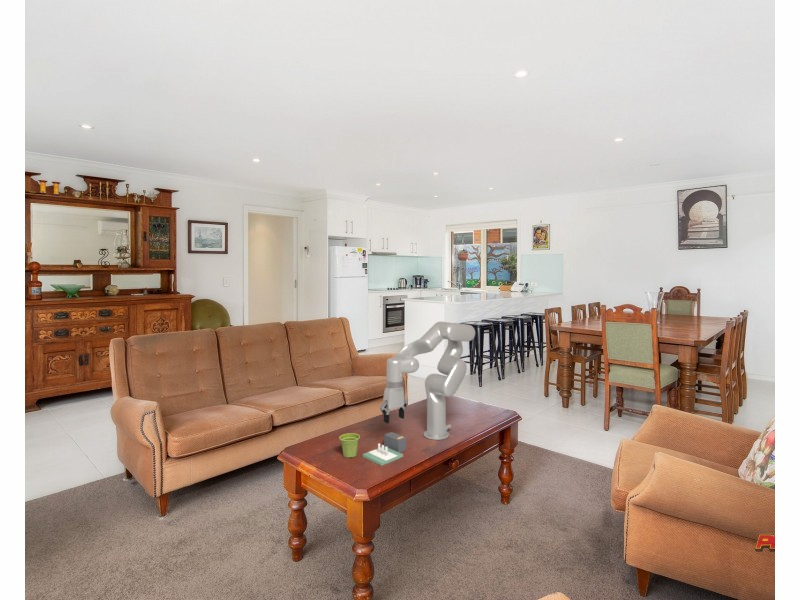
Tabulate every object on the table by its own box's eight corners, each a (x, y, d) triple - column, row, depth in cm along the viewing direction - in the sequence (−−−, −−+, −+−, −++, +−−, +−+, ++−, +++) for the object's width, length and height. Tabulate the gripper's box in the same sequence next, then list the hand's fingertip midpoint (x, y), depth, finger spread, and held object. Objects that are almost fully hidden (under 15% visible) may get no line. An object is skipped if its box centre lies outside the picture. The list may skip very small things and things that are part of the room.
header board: (383, 448, 216) (383, 437, 215) (403, 456, 207) (403, 445, 206) (362, 456, 207) (362, 445, 206) (381, 465, 198) (381, 453, 197)
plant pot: (335, 456, 207) (334, 438, 207) (348, 449, 215) (348, 431, 215) (351, 461, 202) (350, 442, 202) (364, 453, 210) (364, 435, 209)
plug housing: (391, 443, 221) (391, 431, 221) (406, 449, 214) (406, 437, 214) (384, 446, 218) (384, 434, 218) (398, 453, 211) (398, 439, 210)
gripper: (402, 380, 222) (401, 414, 223) (375, 386, 210) (374, 422, 211) (413, 382, 217) (412, 418, 218) (386, 389, 205) (385, 426, 206)
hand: (394, 420), depth 215 cm, fingers open, 9 cm apart
